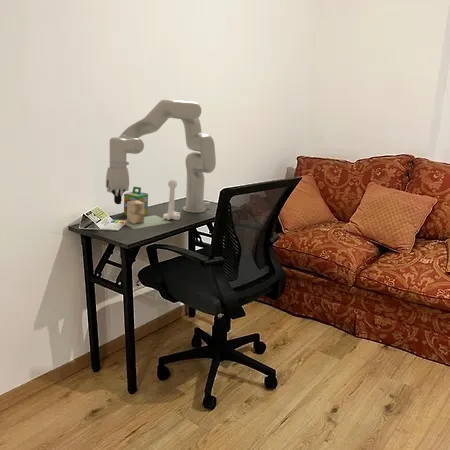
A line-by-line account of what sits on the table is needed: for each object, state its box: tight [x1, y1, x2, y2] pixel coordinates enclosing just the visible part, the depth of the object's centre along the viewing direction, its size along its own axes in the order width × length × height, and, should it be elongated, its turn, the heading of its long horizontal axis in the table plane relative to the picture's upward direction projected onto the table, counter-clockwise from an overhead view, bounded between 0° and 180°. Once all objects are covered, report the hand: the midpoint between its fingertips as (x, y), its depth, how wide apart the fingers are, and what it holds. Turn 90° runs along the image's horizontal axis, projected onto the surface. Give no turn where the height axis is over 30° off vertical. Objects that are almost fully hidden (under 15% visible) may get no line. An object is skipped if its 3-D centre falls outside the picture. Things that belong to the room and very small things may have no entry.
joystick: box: [162, 179, 181, 221], centre depth 240 cm, size 11×8×20 cm
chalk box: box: [123, 186, 149, 217], centre depth 243 cm, size 9×9×15 cm
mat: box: [122, 214, 172, 230], centre depth 234 cm, size 21×15×1 cm
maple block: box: [126, 200, 145, 225], centre depth 231 cm, size 6×6×10 cm
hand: (117, 203), depth 223 cm, fingers closed
